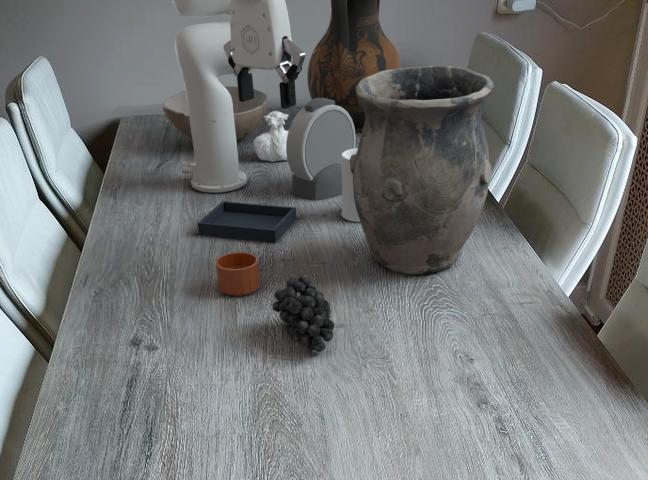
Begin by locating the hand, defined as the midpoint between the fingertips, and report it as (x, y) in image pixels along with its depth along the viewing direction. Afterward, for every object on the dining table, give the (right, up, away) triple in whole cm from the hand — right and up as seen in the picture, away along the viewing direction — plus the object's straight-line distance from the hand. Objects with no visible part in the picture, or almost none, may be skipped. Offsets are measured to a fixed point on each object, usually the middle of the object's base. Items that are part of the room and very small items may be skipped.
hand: (267, 103), depth 136 cm
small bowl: (-5, -31, +2) cm, 32 cm away
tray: (-6, -14, +23) cm, 28 cm away
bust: (-2, +13, +56) cm, 58 cm away
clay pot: (+27, -24, +9) cm, 37 cm away
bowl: (-18, +23, +68) cm, 74 cm away
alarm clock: (+9, -1, +39) cm, 40 cm away
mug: (+19, -10, +26) cm, 34 cm away
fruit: (+7, -43, -12) cm, 45 cm away
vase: (+17, +31, +76) cm, 84 cm away
